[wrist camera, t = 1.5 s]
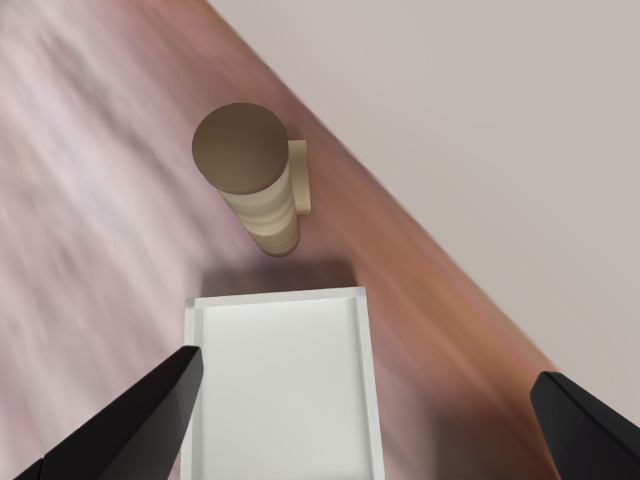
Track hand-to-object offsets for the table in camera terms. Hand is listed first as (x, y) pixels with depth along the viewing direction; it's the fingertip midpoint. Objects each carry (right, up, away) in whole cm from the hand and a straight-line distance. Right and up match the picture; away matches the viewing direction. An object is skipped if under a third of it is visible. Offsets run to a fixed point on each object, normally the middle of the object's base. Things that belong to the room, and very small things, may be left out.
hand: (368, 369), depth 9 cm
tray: (-4, -7, +13) cm, 15 cm away
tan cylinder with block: (-5, +6, +16) cm, 17 cm away
